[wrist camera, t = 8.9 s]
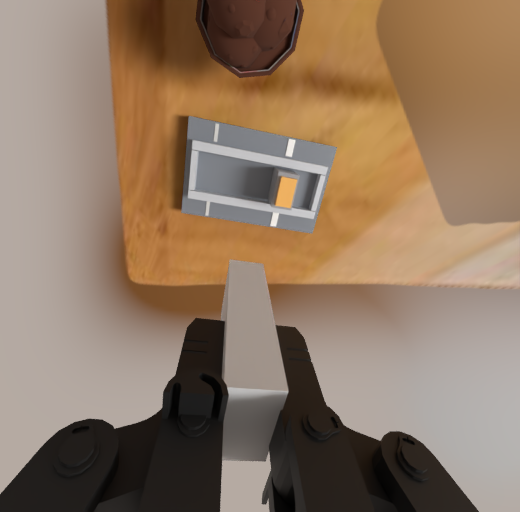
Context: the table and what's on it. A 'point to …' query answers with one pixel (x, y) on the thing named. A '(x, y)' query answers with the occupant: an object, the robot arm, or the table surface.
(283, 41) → the ice cream bowl
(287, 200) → the fader tab
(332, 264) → the table surface
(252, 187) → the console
